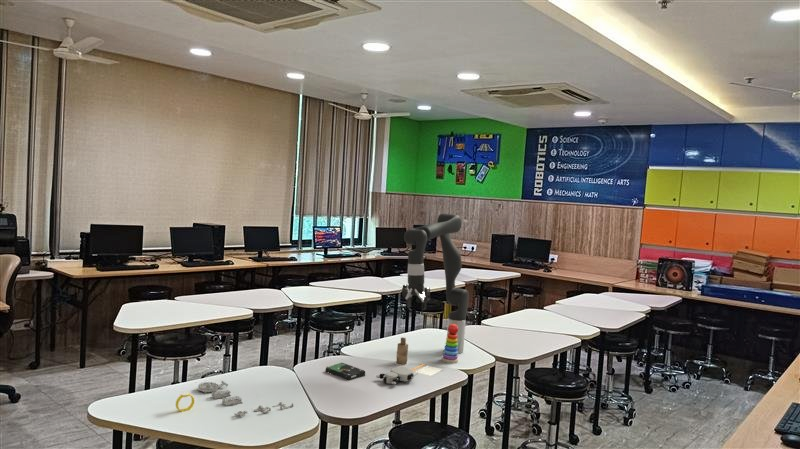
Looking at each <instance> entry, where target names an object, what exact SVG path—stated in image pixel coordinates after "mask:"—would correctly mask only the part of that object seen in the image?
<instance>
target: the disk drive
mask: <svg viewBox="0 0 800 449" xmlns="http://www.w3.org/2000/svg"><path fill="white" fill-rule="evenodd" d="M327 372H329V373H328V374H330V373H331V374H330V375H332V376H336V377H337V378H340V379H343V380H345V381H349V382H350V381H352V380H355V379H359V378H362V377H366V370H364V369H361V368H359V367H355V366H353V365H350V364H347V363H344V362H339V363H336V364H333V365H330V366H326V367H325V373H327Z"/></svg>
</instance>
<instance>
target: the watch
mask: <svg viewBox="0 0 800 449" xmlns="http://www.w3.org/2000/svg"><path fill="white" fill-rule="evenodd" d="M188 397H190V398H191V402H190V405H189V406H188V407H187V408H186V407H185V408H182V409H180V407H179V403H180V401H181V399H183V398H188ZM194 405H195V397H194V396H193V395H192V394H190V392H188V391H187V392H185V391H184V392H181V394H180V396H179V397H177V399H176V400H175V408H176V409H177V410H178V411H179V412H186V411H189V410H190V411H191V409H192V408H193V407H194Z"/></svg>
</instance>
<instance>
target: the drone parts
mask: <svg viewBox="0 0 800 449" xmlns="http://www.w3.org/2000/svg"><path fill="white" fill-rule="evenodd" d="M223 386H226V387H228V386H229V384H228V383H227V382H225V381H224V380H221V381H220V384H218V383H216V382H212V381H206V382H201V383H199V384H198V388H197V390H198V391H200V392H203V393H204V394H207V393H211V397H212V398H213V399H215V400H216V399H217V400H218V399H221V401H222V402H221V403H222V404H223V405H224V406H225V407H227V406H237V405H238V404H243V402H242V401H243V398H241V397H240V396H238V395H237V396H231V393H232V392H231V390H226V391H224V390H221V391H220V390H219V389H220V388H222V387H223ZM218 390H219V391H218ZM229 396H230V397H229ZM294 406H295V405H294V403H293V402H291V405H289V406H287V403H284V404H283V402H282V401H279V402H278V405H273V406H272V408H275V407H279V409H280V410H286V409H287V410H289V409H290V408H293V407H294ZM253 411H254V412H261V413H266V414H267V413H269V412H271V411H272V409H271V407H268V406H266V407H263V405H259V406H258V407H257V409H253ZM233 414H234V415H238V416H240V417H244V416H245V415H246V414H247V415H248V411H246V410H243V411H242V410H239V411H237V412H235V413H233Z"/></svg>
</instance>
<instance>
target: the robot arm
mask: <svg viewBox="0 0 800 449" xmlns="http://www.w3.org/2000/svg"><path fill="white" fill-rule="evenodd" d="M462 224H463V223H462V218H461V216H460V215H458V214H455V213H454V214H453V213H440V214H439V215H438V216H437V222H432V223H428V224H425V225H423V226H418V227H413V228H412V227H411V228H409V229H408V230H406V231H405V233H404V235H403V240H404V242H405V243H406V244H407V245H410V246H416V247H415V248H414V249H413V250H412V249H411V250H409V251H408V253H407V284H403V285H402V294H401V297H402V298H403V299H405V306H406V308H408V309H410V308H411V307H412V299H411V298H412V297H413V296H416V297H418V298H419V299H420V300H421V311H425V310H427V302H429V301H431V288H430V286H427V287H425V286H424V285H425V265H424V263H425V262H424V260H425V258H424V255H425V250H426V246H427V243H428V241H430V240H432V239H435V238H438V237H439V239H440V245H441V253H442V261H443V268H444V274H445V291H446V292H445V294H446V296H445V297H446V302H447V303H448V305H451V306H454V307H455V306H456V307H457V310H455V311H450V312H449V313H448V316H447V328H446V329H447V330H446V335H447V334H448V333H449V331H448V327H449V325H451V324H455V325H457V326H458V332H457V333H456V334H457V336H458V337H457V338H456V339H457V343H458V345H457V347H458V350H457V351H458V354H462V353H464V347H465V334H466V323H467V322H466V319H467V315H468V306H469V299H470V296H469V291H468V290H467V289H463V288H457V287H456V278H457V277H458V275H459V274H460V272H461V269H462V267H463V262H462V255H461V252H460V251H459V248H457V246H456V244H455V242H453V240H452V237H451V235H450V234H454V233H458V232H459V231H460V230H461V229H462Z"/></svg>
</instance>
